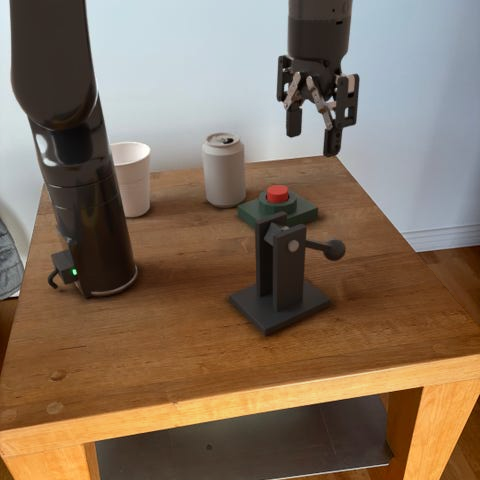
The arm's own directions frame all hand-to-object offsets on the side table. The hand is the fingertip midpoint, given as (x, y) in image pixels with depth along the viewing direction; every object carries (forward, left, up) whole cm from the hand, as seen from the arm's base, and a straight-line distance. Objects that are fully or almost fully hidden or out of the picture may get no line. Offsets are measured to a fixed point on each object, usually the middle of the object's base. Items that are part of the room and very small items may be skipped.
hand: (311, 145), depth 70 cm
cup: (-18, +29, -17) cm, 38 cm away
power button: (+2, +11, -13) cm, 18 cm away
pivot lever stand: (-12, -9, -17) cm, 23 cm away
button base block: (+2, +11, -17) cm, 20 cm away
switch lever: (-8, -9, -10) cm, 16 cm away
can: (-2, +22, -17) cm, 28 cm away
